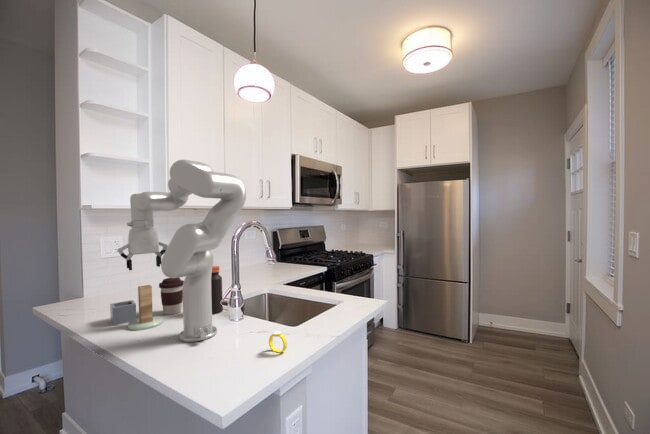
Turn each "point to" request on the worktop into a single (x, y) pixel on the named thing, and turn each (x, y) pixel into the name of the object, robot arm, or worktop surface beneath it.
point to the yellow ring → (279, 333)
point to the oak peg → (145, 304)
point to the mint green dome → (145, 324)
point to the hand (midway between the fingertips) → (144, 268)
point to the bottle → (216, 290)
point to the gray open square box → (123, 312)
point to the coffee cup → (171, 295)
